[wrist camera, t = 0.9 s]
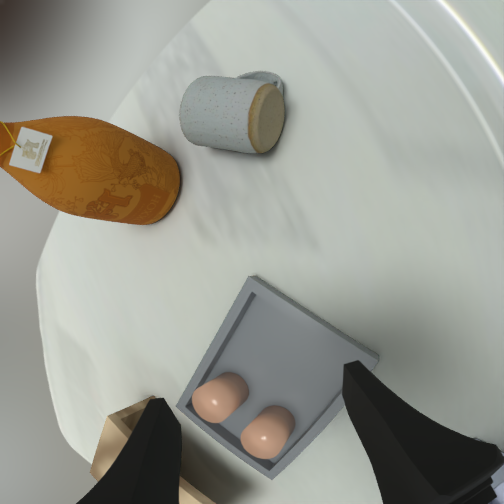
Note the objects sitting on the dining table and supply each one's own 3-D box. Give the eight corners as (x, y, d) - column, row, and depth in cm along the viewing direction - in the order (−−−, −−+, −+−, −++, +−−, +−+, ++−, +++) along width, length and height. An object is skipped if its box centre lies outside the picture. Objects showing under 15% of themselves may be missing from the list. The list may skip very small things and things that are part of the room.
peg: (255, 387, 28) (235, 405, 24) (238, 412, 29) (217, 430, 25) (225, 364, 30) (201, 378, 26) (210, 389, 31) (186, 404, 26)
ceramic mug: (275, 167, 29) (242, 135, 22) (208, 155, 32) (166, 128, 25) (302, 80, 28) (279, 36, 21) (237, 77, 31) (205, 40, 24)
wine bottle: (141, 243, 35) (-106, 216, 8) (119, 183, 38) (-83, 131, 10) (198, 194, 32) (-90, 104, 5) (168, 135, 35) (-49, 37, 7)
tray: (378, 353, 25) (378, 361, 22) (279, 468, 27) (271, 480, 25) (258, 275, 30) (248, 276, 28) (187, 399, 33) (175, 406, 30)
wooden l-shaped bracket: (263, 483, 27) (233, 525, 20) (211, 525, 30) (182, 555, 22) (153, 395, 34) (107, 416, 26) (126, 453, 37) (89, 472, 29)
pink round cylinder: (302, 419, 26) (289, 442, 22) (282, 443, 27) (267, 465, 23) (271, 398, 28) (253, 417, 24) (252, 422, 28) (233, 442, 24)
